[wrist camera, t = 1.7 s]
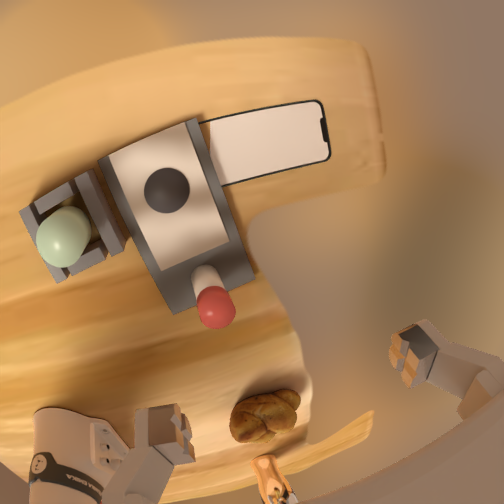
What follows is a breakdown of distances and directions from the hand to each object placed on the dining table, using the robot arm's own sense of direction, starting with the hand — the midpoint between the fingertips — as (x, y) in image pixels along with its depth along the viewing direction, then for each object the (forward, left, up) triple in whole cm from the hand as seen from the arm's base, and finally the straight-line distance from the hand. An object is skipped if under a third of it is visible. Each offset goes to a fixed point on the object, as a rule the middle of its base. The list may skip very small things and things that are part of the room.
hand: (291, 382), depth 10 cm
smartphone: (+4, -10, -27) cm, 29 cm away
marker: (-8, +2, -25) cm, 26 cm away
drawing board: (-1, +2, -26) cm, 26 cm away
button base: (+4, +13, -26) cm, 30 cm away
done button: (+4, +13, -24) cm, 27 cm away
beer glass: (-57, +10, -26) cm, 63 cm away
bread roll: (-36, +3, -26) cm, 44 cm away
